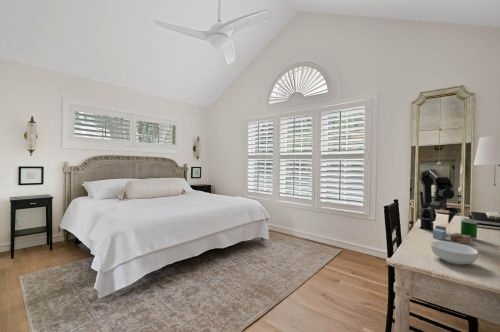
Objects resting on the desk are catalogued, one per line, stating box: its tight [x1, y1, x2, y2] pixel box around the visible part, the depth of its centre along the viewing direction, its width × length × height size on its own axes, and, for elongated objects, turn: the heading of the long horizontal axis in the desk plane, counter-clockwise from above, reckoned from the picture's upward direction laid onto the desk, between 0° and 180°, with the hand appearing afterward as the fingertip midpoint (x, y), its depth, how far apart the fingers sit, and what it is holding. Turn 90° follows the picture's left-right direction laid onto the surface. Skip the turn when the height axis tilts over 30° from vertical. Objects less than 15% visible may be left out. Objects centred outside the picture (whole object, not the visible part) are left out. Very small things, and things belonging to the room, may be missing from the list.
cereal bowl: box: [430, 240, 479, 266], centre depth 114 cm, size 17×17×7 cm
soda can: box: [460, 217, 478, 241], centre depth 151 cm, size 8×8×12 cm
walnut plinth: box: [449, 232, 471, 245], centre depth 144 cm, size 7×7×4 cm
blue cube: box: [432, 228, 447, 241], centre depth 150 cm, size 5×5×5 cm
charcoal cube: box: [434, 225, 447, 232], centre depth 159 cm, size 5×5×5 cm
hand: (440, 221), depth 150 cm, fingers open, 9 cm apart
